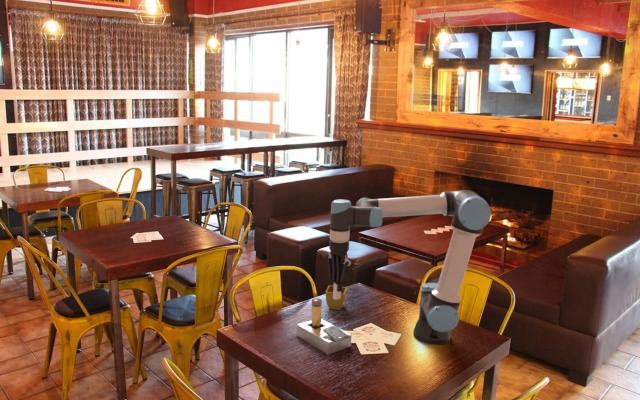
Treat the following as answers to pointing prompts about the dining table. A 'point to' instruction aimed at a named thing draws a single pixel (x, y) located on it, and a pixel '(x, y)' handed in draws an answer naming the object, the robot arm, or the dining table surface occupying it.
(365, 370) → the dining table surface
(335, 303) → the flower pot
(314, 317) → the lynch pin
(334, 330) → the ring flap
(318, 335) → the block
